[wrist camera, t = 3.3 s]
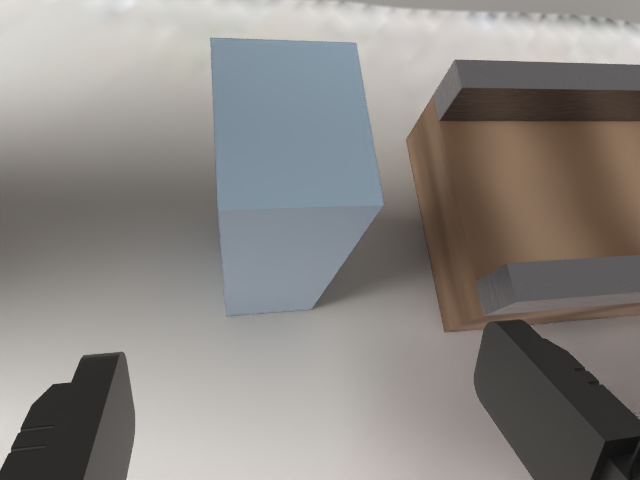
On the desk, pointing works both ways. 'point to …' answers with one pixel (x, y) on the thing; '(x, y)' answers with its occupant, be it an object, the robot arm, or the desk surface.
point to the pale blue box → (289, 168)
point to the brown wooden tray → (531, 191)
